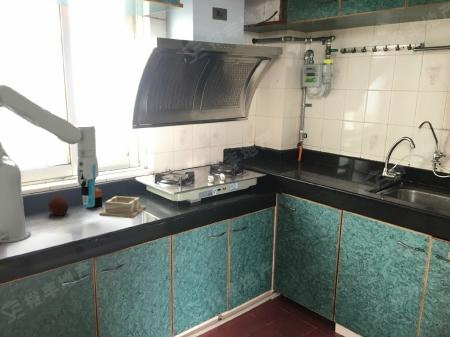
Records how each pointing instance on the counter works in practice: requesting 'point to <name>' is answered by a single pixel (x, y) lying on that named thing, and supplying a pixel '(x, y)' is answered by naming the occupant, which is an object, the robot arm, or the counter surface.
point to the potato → (58, 205)
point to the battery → (97, 199)
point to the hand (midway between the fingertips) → (88, 193)
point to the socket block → (122, 207)
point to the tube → (90, 192)
